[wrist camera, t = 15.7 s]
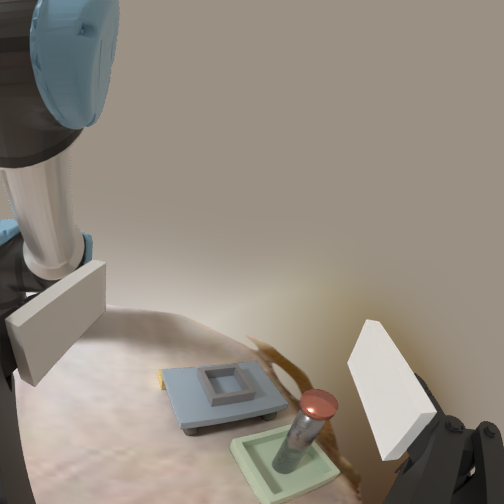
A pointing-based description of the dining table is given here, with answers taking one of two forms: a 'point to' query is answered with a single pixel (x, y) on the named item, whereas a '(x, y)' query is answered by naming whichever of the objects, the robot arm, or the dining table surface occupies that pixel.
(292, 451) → the pin
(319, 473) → the tray
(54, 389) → the dining table surface
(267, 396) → the cart
